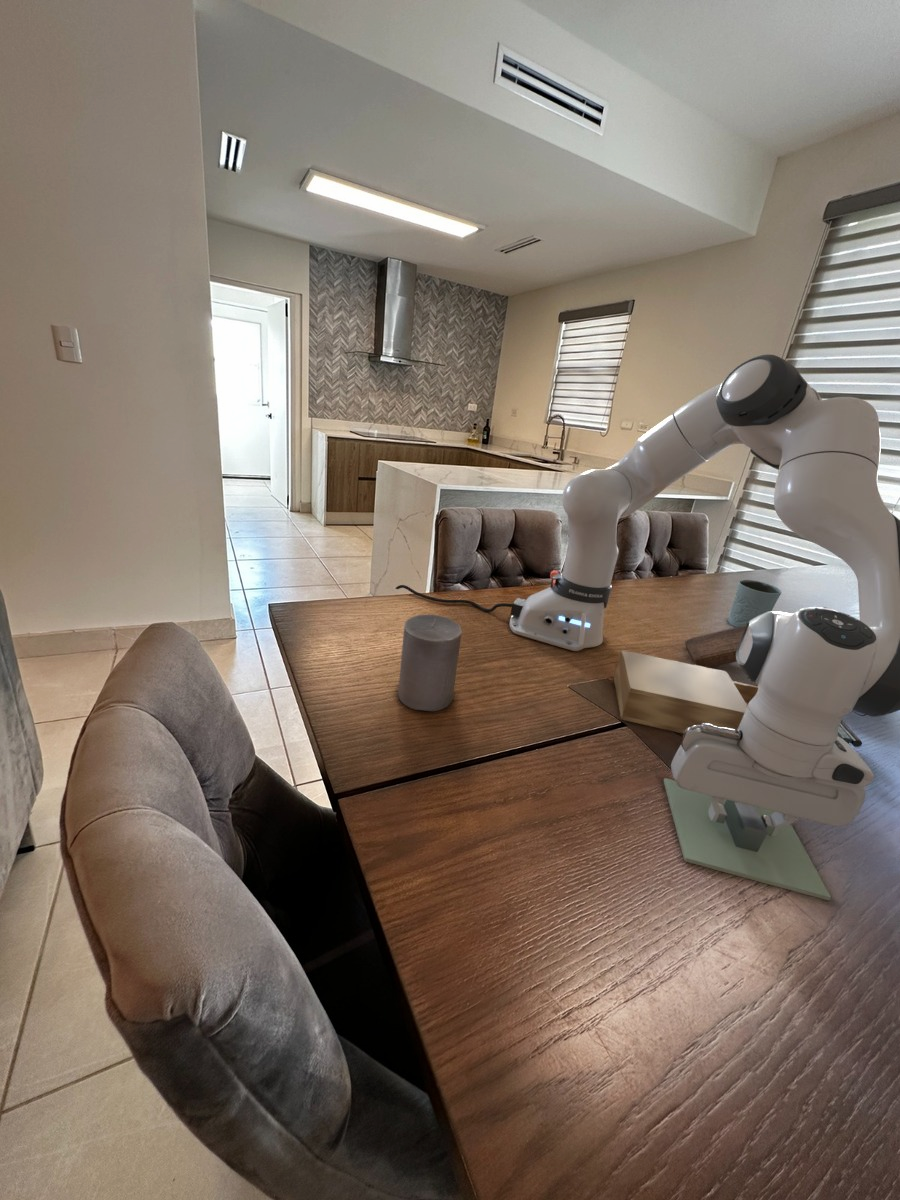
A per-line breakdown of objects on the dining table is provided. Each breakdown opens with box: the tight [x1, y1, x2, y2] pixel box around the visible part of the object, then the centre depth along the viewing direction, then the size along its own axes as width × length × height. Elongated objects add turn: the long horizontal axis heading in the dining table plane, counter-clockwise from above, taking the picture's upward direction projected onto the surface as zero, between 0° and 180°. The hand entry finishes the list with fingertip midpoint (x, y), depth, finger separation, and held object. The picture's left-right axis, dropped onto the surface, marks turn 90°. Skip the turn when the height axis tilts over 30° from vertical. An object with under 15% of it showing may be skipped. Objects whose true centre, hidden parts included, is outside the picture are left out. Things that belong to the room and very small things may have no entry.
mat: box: [663, 777, 832, 901], centre depth 62 cm, size 16×14×1 cm
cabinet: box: [613, 649, 748, 735], centre depth 87 cm, size 20×15×7 cm
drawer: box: [732, 680, 863, 748], centre depth 84 cm, size 23×13×5 cm, turn 77°
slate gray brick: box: [724, 800, 768, 852], centre depth 61 cm, size 3×6×4 cm, turn 167°
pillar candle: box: [397, 614, 463, 712], centre depth 80 cm, size 10×10×15 cm
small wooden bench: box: [684, 606, 831, 668], centre depth 106 cm, size 10×16×30 cm
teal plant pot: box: [727, 579, 782, 628], centre depth 130 cm, size 10×10×12 cm
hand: (740, 825), depth 62 cm, fingers open, 5 cm apart
